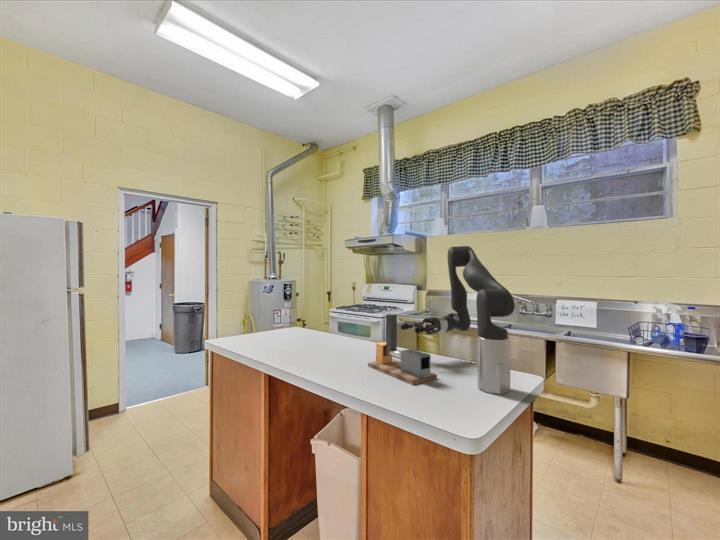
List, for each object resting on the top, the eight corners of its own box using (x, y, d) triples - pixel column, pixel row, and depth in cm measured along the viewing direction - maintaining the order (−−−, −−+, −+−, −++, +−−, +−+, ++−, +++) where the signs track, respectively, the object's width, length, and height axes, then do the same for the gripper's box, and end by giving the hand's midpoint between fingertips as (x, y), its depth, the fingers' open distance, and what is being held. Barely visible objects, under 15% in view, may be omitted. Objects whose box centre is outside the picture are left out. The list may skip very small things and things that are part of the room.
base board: (436, 378, 117) (436, 374, 117) (412, 385, 110) (412, 380, 110) (390, 361, 139) (390, 358, 139) (367, 366, 132) (368, 362, 132)
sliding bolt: (415, 362, 120) (415, 318, 120) (409, 363, 118) (409, 318, 118) (385, 352, 134) (385, 312, 134) (379, 353, 133) (380, 313, 133)
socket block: (392, 362, 132) (392, 343, 133) (382, 364, 130) (382, 345, 130) (385, 360, 136) (386, 341, 136) (376, 361, 133) (376, 343, 133)
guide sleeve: (430, 376, 115) (430, 354, 115) (419, 378, 112) (420, 356, 112) (410, 369, 123) (410, 349, 123) (400, 371, 120) (400, 350, 121)
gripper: (423, 314, 149) (396, 317, 140) (447, 318, 138) (420, 321, 128) (423, 331, 149) (396, 334, 140) (447, 336, 138) (420, 340, 128)
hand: (408, 328), depth 134 cm, fingers open, 8 cm apart
